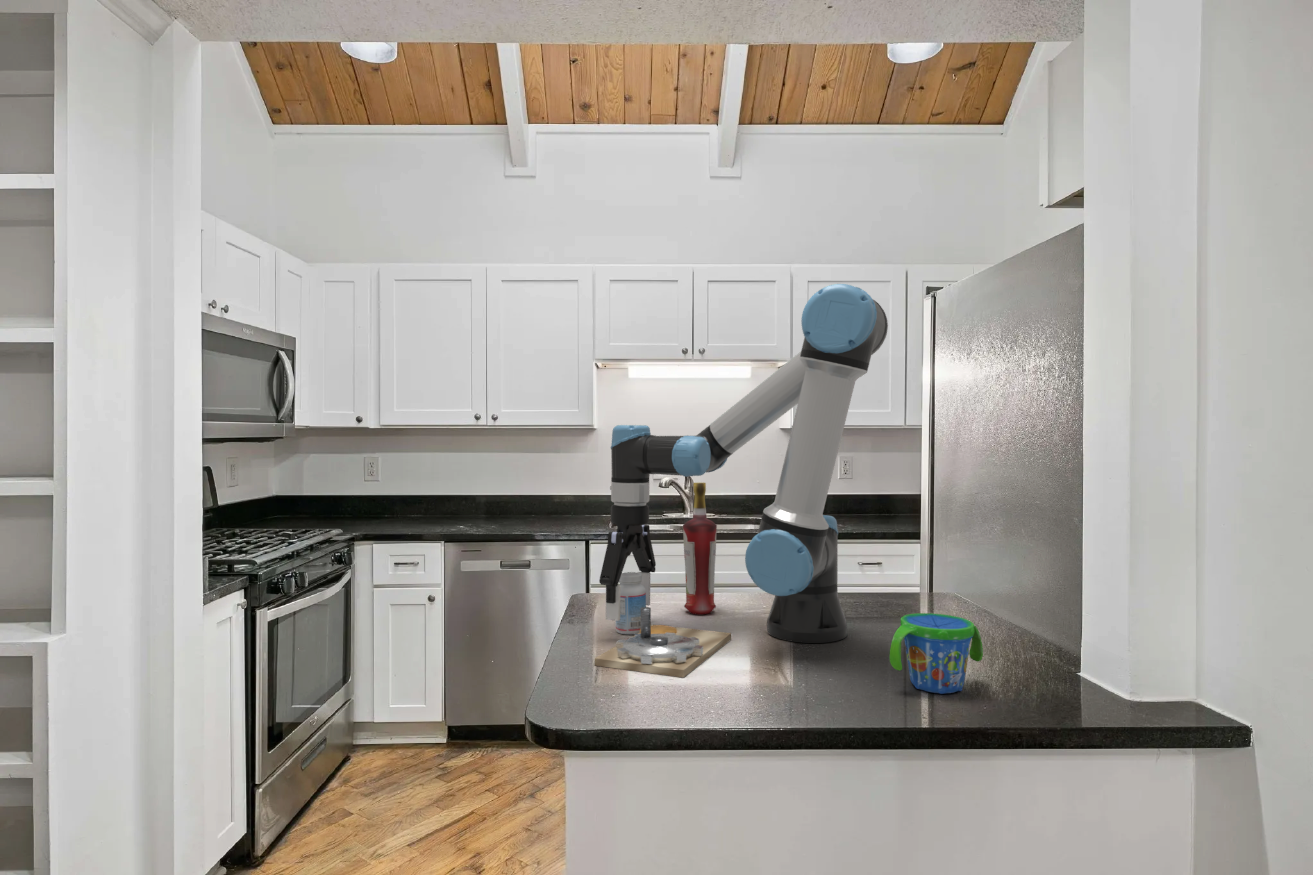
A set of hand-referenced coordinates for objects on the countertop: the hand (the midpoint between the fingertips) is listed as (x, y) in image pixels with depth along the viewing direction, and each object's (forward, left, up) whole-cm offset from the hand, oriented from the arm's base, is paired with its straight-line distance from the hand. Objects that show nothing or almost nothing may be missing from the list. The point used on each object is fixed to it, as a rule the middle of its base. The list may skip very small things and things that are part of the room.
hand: (628, 611), depth 148 cm
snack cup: (-57, +11, -4) cm, 59 cm away
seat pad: (-7, +2, -3) cm, 8 cm away
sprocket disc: (-13, +15, -2) cm, 20 cm away
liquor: (-7, -20, -4) cm, 22 cm away
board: (-12, +10, -4) cm, 16 cm away
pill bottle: (0, 0, -4) cm, 4 cm away
